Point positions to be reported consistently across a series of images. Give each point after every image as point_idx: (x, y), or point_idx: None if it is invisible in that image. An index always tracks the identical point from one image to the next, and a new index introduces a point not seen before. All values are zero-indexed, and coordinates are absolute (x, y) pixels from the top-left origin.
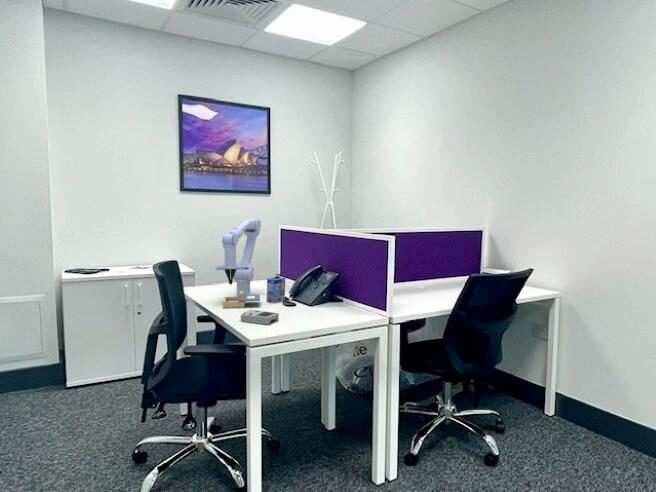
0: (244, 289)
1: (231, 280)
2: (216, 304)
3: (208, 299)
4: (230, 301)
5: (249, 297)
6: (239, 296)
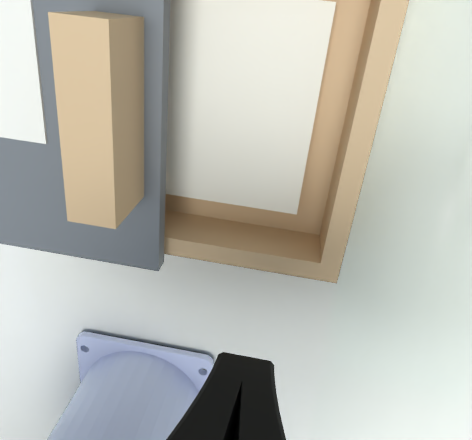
0: (97, 419)
1: (212, 411)
2: (440, 204)
3: (463, 420)
4: (279, 183)
5: (5, 49)
6: (152, 170)
